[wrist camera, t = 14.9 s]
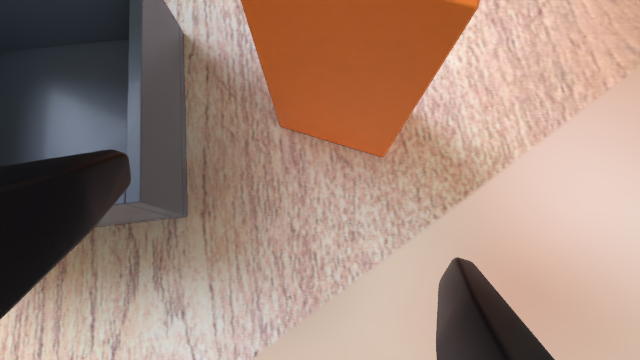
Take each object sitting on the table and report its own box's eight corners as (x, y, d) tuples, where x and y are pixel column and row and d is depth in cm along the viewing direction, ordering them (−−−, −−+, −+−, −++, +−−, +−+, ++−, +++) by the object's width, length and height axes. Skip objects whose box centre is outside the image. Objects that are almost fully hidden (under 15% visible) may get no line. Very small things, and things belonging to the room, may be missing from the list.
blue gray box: (188, 216, 17) (140, 202, 13) (-30, 241, 17) (-158, 236, 12) (183, 32, 20) (142, -35, 15) (-6, 51, 19) (-105, -11, 15)
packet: (383, 157, 18) (479, 7, 7) (279, 126, 18) (220, -60, 7) (399, 101, 18) (508, -111, 8) (299, 72, 19) (272, -166, 8)
